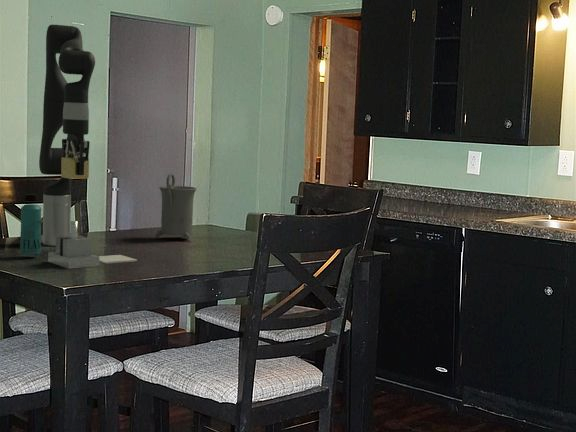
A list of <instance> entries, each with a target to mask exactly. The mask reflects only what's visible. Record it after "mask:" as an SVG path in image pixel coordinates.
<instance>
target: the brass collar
mask: <svg viewBox="0 0 576 432" xmlns="http://www.w3.org/2000/svg"><path fill="white" fill-rule="evenodd" d="M76 163H77V162H76V157H62V160H61V175H60V178H61V177H63V178H69V179H71V180H74V179H75V180H76V179H77V180H78V179H80V180H81V179H82V180H86V179H87V180H88V179H89V177H90V176H89V174H90V171H89V170H90V158H88V161H85V163H84V175H76Z"/></svg>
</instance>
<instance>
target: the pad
mask: <svg viewBox="0 0 576 432" xmlns="http://www.w3.org/2000/svg"><path fill="white" fill-rule="evenodd" d="M98 256H99V263H102V264H118V263H119V264H120V263H133V262H134V263H135V262H138V259H136V258H134V257H129V256H126V255H123V254H115V255H98Z"/></svg>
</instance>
